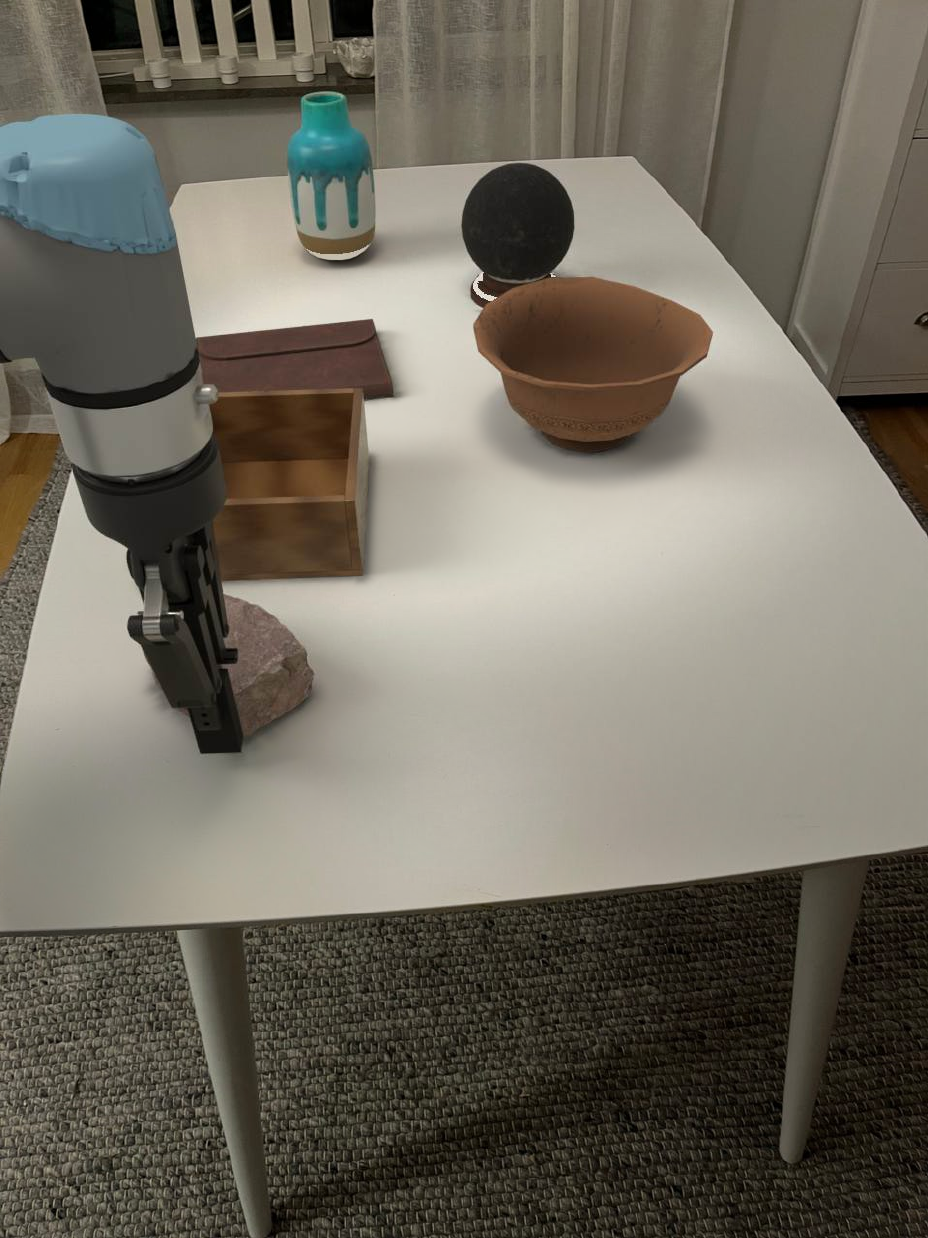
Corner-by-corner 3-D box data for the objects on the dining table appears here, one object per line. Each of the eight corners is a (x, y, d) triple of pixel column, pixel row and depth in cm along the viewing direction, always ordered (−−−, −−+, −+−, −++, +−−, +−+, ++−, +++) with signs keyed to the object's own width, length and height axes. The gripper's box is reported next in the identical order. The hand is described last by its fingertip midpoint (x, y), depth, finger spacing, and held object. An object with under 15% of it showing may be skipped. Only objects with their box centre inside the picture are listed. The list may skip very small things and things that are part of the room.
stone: (132, 674, 76) (118, 626, 73) (233, 618, 81) (223, 571, 78) (223, 759, 69) (211, 711, 66) (327, 693, 74) (320, 645, 71)
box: (149, 583, 84) (127, 508, 79) (184, 464, 97) (168, 393, 92) (362, 575, 84) (354, 500, 79) (369, 458, 97) (362, 387, 92)
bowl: (640, 360, 111) (651, 262, 104) (737, 467, 95) (758, 361, 88) (447, 392, 106) (444, 292, 99) (515, 510, 91) (518, 401, 83)
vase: (291, 246, 136) (271, 89, 123) (368, 235, 138) (357, 81, 125) (306, 277, 128) (286, 114, 115) (387, 266, 131) (377, 104, 118)
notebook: (393, 397, 106) (392, 379, 104) (201, 419, 103) (197, 402, 102) (373, 332, 117) (372, 316, 115) (199, 351, 114) (195, 334, 113)
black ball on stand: (451, 277, 128) (448, 152, 118) (552, 266, 130) (558, 142, 120) (476, 323, 118) (476, 191, 108) (584, 310, 120) (594, 179, 110)
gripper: (195, 517, 48) (266, 821, 64) (232, 381, 58) (287, 675, 74) (36, 522, 48) (147, 825, 64) (100, 385, 58) (183, 678, 74)
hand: (222, 744), depth 69 cm, fingers closed
